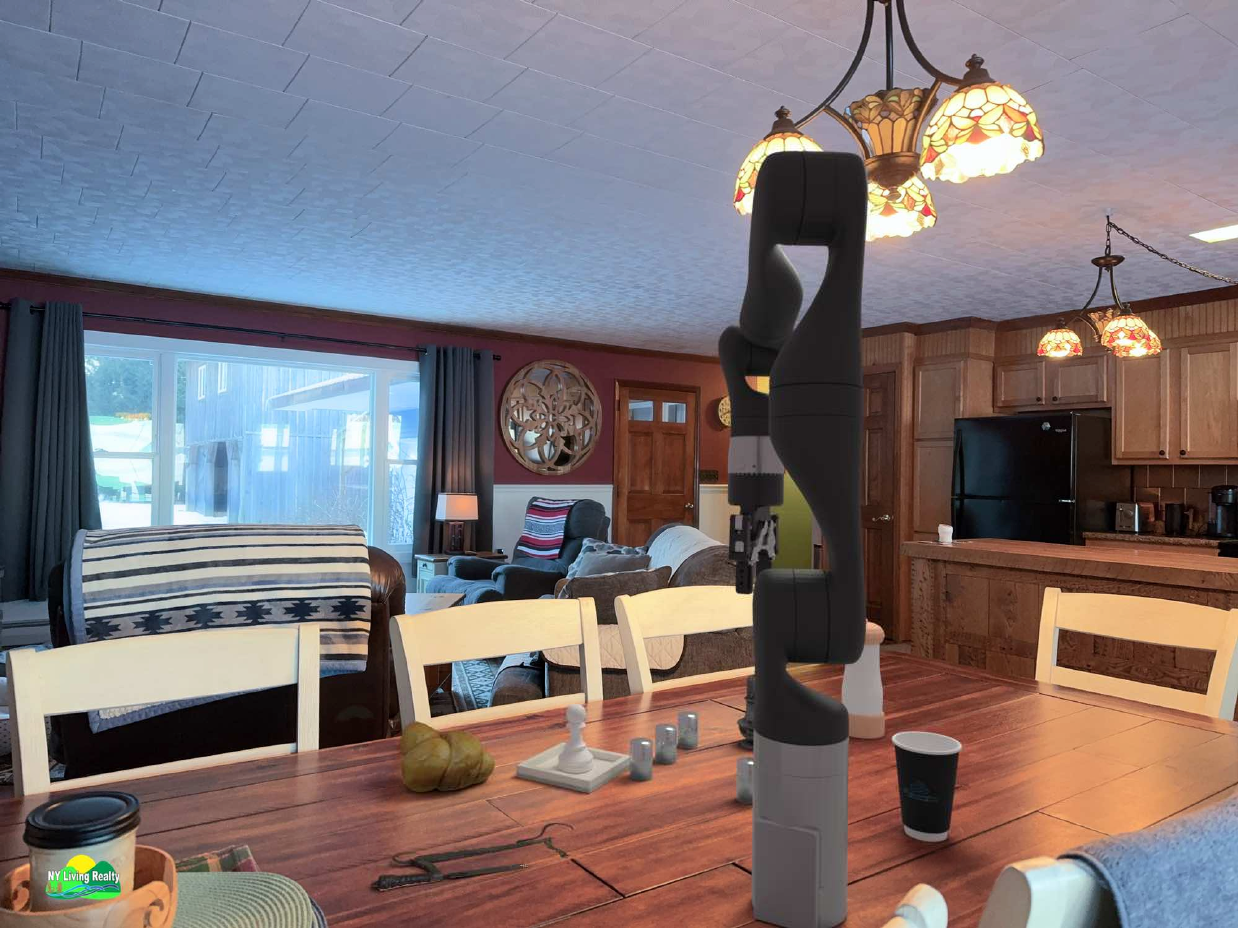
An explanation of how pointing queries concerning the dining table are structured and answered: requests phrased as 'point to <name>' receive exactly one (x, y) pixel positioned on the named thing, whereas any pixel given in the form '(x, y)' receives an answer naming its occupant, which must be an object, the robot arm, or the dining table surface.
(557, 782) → the square tray
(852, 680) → the pepper shaker
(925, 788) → the dixie cup
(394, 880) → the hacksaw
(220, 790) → the dining table surface
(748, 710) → the grey chess piece
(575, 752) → the chess pawn
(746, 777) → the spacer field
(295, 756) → the dining table surface
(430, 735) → the bread roll
